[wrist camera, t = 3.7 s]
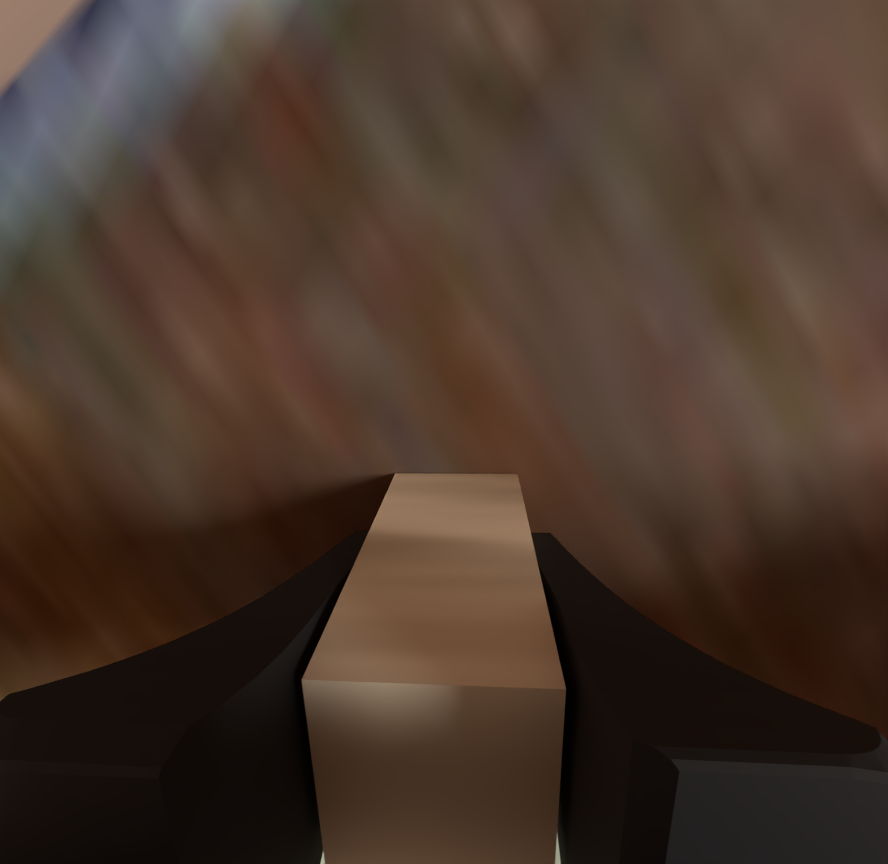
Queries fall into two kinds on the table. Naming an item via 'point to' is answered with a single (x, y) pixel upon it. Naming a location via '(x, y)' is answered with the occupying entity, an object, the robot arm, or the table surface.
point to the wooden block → (439, 685)
